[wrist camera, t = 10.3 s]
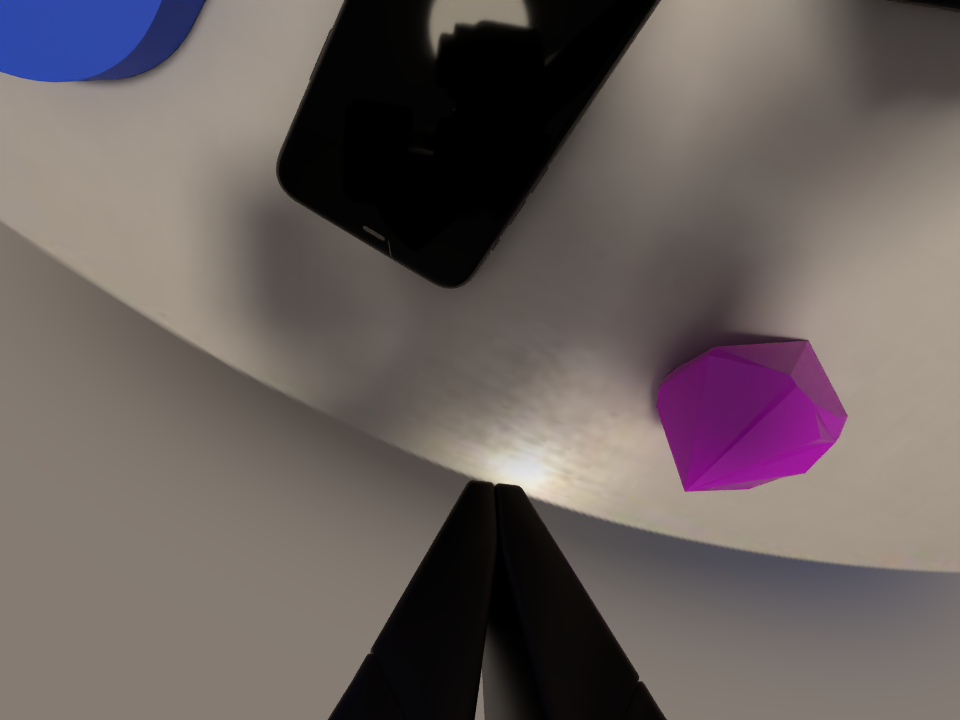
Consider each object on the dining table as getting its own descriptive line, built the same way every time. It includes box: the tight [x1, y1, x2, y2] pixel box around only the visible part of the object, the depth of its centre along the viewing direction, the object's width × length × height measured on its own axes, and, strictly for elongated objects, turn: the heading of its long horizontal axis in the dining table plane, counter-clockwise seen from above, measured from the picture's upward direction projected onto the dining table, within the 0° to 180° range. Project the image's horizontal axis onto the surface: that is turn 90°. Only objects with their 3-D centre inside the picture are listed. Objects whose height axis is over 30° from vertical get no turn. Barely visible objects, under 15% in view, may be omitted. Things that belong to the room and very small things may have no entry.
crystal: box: [657, 341, 848, 492], centre depth 19 cm, size 5×5×5 cm
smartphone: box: [276, 0, 661, 289], centre depth 15 cm, size 7×1×15 cm
